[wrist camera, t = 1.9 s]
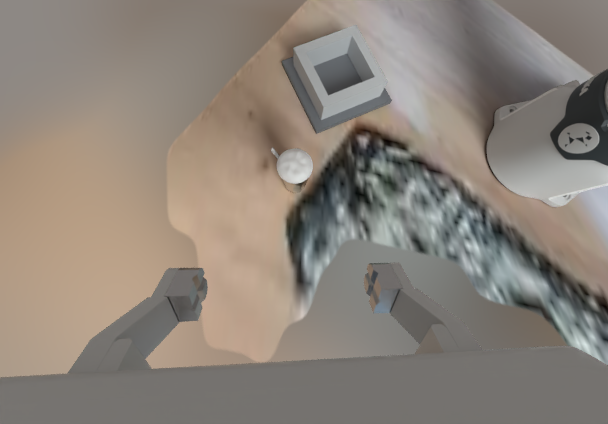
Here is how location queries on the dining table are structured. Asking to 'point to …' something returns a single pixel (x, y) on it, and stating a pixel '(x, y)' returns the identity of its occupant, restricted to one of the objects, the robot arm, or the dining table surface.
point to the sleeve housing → (336, 78)
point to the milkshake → (294, 168)
